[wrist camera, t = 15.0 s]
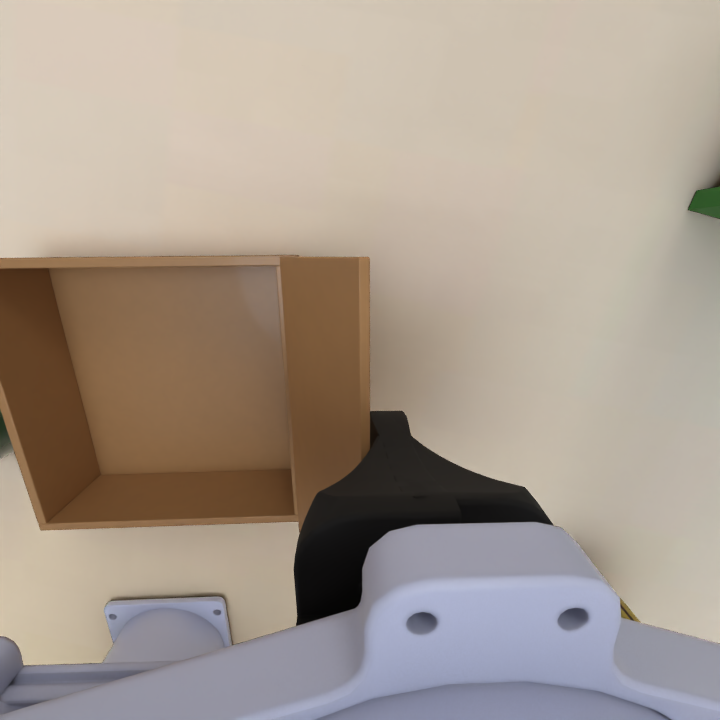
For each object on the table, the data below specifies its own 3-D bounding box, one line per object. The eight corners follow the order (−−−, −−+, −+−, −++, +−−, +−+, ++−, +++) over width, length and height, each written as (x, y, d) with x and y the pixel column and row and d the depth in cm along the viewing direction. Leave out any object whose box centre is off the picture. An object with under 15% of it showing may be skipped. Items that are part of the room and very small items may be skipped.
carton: (298, 254, 18) (284, 255, 14) (311, 470, 22) (302, 521, 18) (43, 257, 18) (-51, 258, 13) (100, 476, 21) (40, 530, 17)
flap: (278, 256, 13) (286, 256, 13) (299, 531, 17) (305, 529, 17) (359, 257, 8) (370, 257, 8) (363, 654, 12) (370, 649, 12)
